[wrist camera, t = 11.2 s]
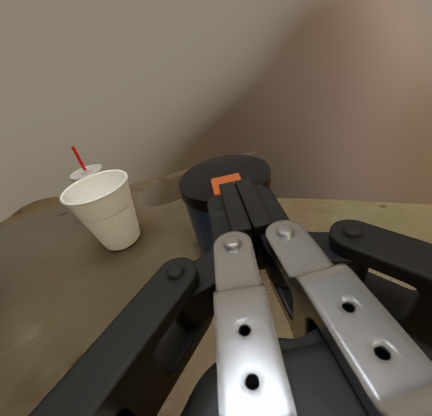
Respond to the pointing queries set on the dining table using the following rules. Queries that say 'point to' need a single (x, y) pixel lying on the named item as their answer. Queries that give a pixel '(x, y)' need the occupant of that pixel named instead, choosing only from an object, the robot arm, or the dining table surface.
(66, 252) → the dining table surface
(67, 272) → the dining table surface
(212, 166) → the blue lidded canister
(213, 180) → the slider
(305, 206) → the dining table surface
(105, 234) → the cup
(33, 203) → the dining table surface
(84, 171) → the beverage cup
